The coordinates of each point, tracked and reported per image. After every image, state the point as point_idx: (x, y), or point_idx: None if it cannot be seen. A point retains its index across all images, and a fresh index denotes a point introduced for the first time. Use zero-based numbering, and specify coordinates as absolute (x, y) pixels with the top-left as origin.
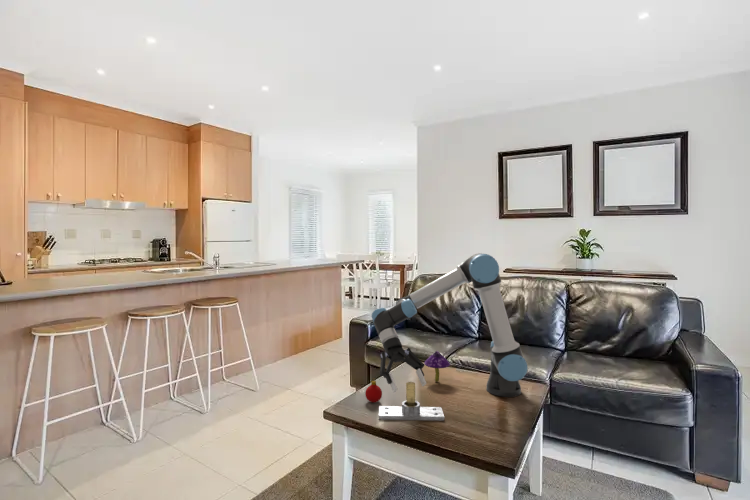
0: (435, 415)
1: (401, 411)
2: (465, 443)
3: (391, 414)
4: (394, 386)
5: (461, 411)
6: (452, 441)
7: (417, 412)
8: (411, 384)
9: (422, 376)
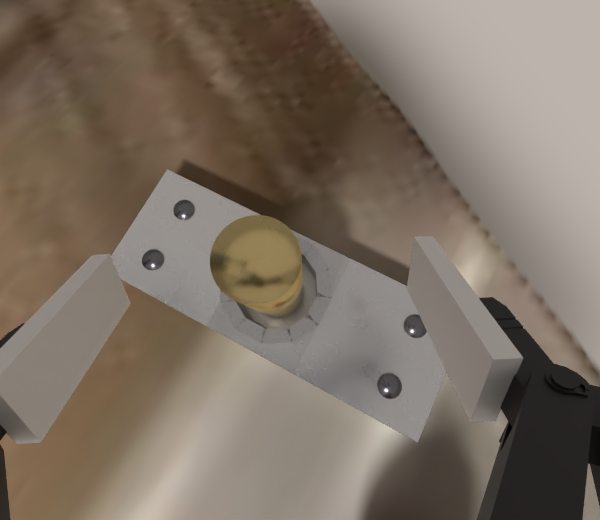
0: (196, 196)
1: (328, 310)
2: (229, 8)
3: (397, 298)
4: (442, 255)
5: (36, 225)
6: (262, 33)
7: None
8: (265, 228)
9: (64, 296)
